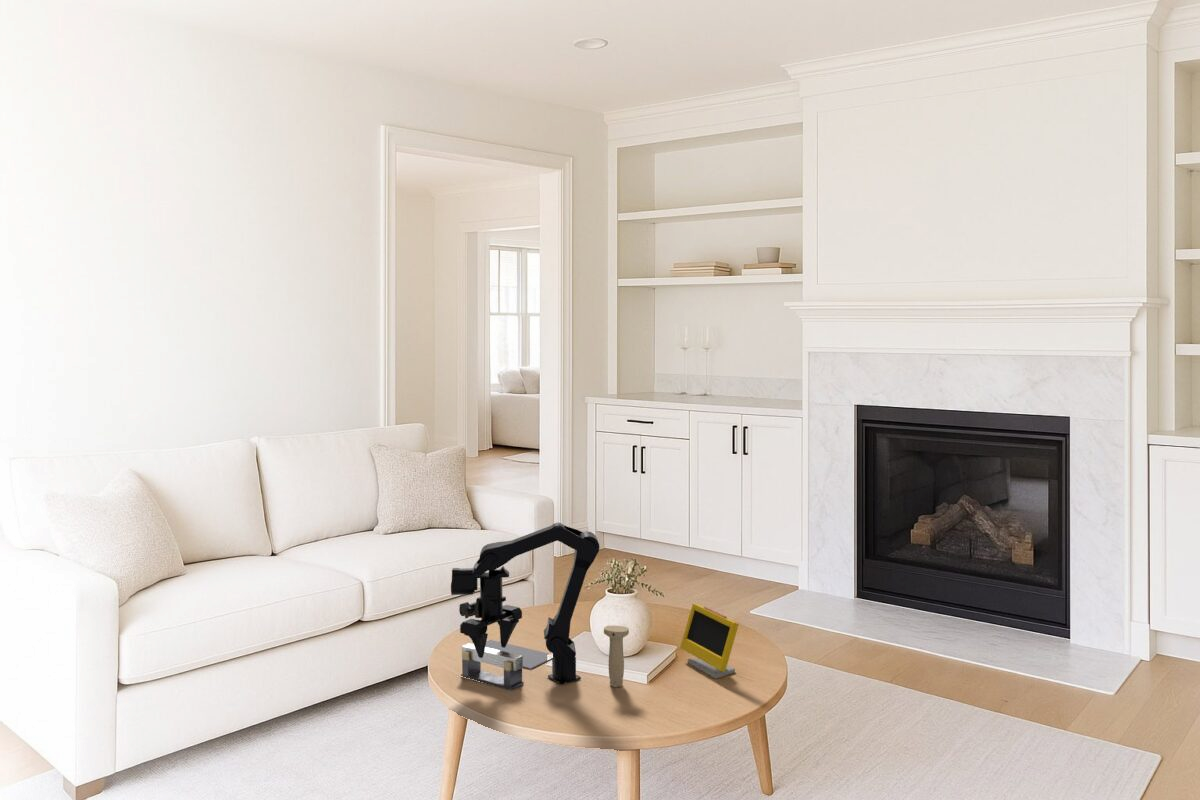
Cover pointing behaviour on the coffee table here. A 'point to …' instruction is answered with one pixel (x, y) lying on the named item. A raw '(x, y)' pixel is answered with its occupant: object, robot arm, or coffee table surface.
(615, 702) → the coffee table surface
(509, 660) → the rail
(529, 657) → the mat
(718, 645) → the yellow framed monitor
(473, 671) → the grey stand
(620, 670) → the handle
